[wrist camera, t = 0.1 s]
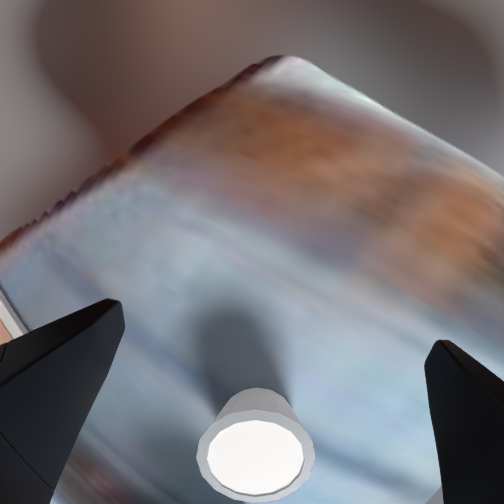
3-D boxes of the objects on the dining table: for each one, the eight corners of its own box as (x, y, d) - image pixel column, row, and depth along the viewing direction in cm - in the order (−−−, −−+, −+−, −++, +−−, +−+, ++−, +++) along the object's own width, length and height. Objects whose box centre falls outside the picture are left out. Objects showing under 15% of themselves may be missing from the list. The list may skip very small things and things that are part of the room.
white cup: (257, 470, 21) (255, 518, 14) (195, 417, 22) (172, 456, 15) (319, 418, 22) (339, 457, 15) (257, 361, 22) (255, 385, 16)
